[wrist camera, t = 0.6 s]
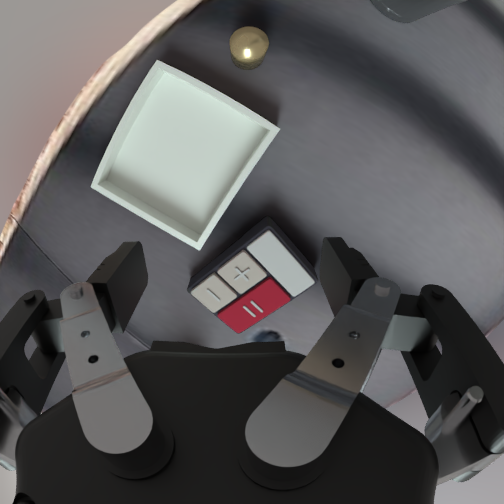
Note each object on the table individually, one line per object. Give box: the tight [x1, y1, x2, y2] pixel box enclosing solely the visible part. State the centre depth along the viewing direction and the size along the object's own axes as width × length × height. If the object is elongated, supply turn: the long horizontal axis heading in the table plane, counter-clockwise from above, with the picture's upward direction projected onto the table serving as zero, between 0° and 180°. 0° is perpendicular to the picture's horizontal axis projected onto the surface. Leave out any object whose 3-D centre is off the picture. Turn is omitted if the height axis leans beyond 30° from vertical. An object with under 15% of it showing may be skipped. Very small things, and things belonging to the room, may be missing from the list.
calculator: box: [187, 216, 318, 334], centre depth 40 cm, size 11×4×15 cm
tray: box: [91, 60, 280, 251], centre depth 32 cm, size 18×17×4 cm
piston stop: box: [230, 27, 269, 70], centre depth 26 cm, size 4×4×6 cm
